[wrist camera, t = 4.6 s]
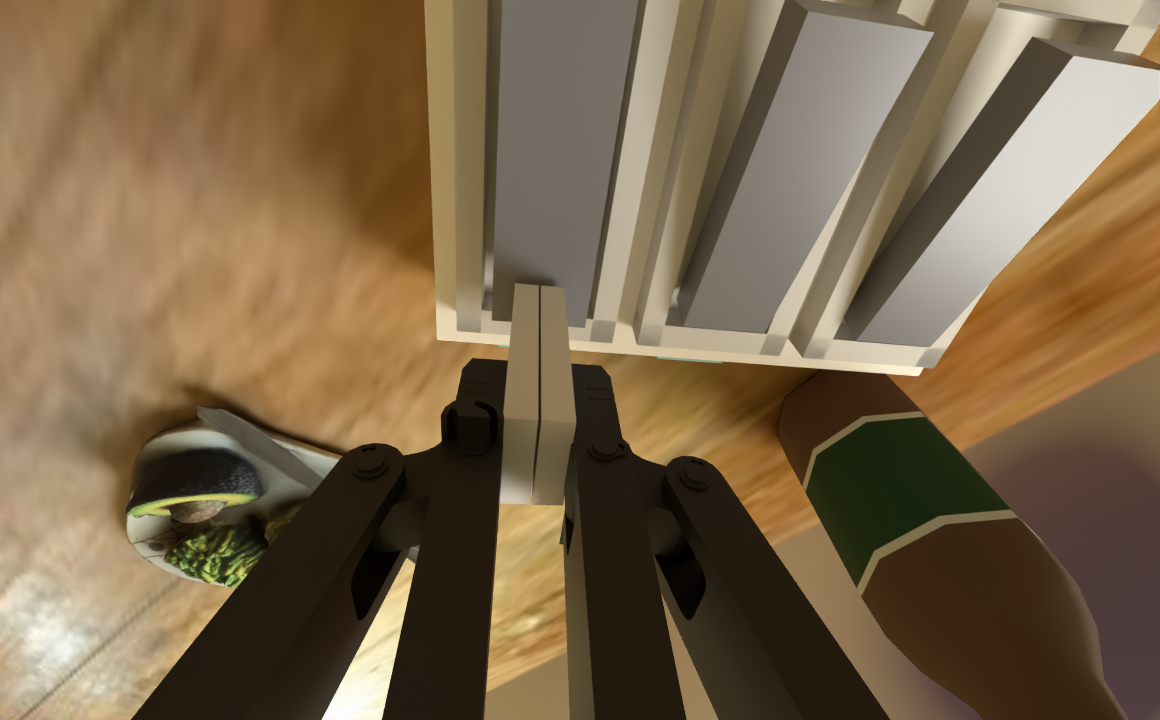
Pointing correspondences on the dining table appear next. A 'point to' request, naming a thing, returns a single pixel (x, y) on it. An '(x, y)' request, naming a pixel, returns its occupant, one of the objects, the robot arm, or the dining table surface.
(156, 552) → the salad plate
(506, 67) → the rocker
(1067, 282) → the dining table surface
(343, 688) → the dining table surface
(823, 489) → the beer bottle
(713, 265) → the block
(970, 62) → the console
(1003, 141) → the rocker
